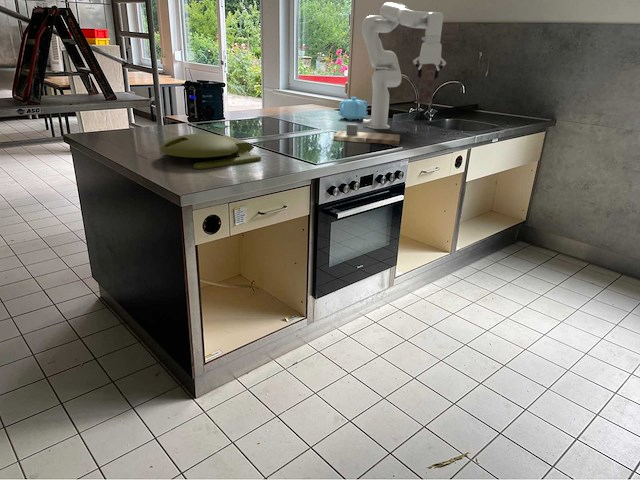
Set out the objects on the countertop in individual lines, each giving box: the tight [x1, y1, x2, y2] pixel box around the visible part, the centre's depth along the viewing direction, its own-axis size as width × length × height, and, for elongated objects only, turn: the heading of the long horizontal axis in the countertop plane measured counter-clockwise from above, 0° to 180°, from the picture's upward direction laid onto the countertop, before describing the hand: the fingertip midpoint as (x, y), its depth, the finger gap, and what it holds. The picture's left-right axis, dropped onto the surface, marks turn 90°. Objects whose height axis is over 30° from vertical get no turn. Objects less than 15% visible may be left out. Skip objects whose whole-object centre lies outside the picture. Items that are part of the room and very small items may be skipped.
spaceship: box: [159, 133, 262, 171], centre depth 193 cm, size 35×31×10 cm
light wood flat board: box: [333, 130, 401, 146], centre depth 244 cm, size 32×16×2 cm, turn 80°
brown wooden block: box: [417, 64, 436, 106], centre depth 243 cm, size 8×7×20 cm
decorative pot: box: [337, 96, 369, 121], centre depth 302 cm, size 20×20×14 cm
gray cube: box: [345, 122, 359, 136], centre depth 243 cm, size 5×5×5 cm
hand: (427, 78), depth 242 cm, fingers closed on brown wooden block, 7 cm apart
